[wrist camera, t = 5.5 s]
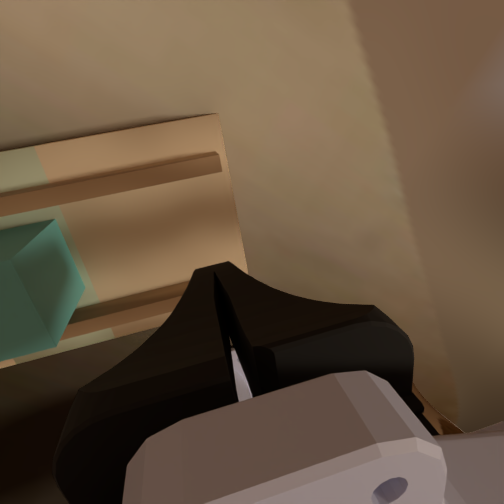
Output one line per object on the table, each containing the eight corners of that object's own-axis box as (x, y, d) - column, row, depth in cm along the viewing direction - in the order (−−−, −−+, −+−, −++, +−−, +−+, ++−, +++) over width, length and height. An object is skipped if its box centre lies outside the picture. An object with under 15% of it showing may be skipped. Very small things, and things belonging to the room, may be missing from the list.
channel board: (245, 282, 23) (259, 314, 19) (-53, 359, 20) (-102, 412, 16) (212, 113, 18) (222, 113, 14) (-180, 183, 15) (-287, 204, 12)
